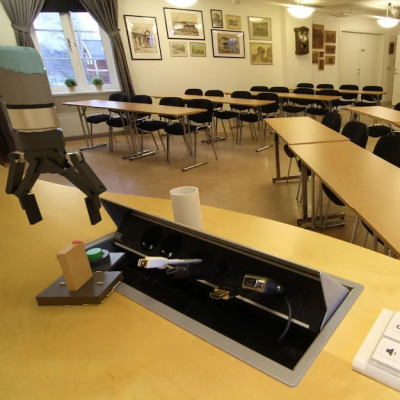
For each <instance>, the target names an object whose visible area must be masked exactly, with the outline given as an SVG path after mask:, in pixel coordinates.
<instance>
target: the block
mask: <svg viewBox="0 0 400 400" xmlns="http://www.w3.org/2000/svg"><path fill="white" fill-rule="evenodd" d="M101 250H102V253H103V256H101V257H99V258H97V259H93V260H88V261H89V264H90V268H91V271H92V272H96V271H102V272H110V271H111V270H112V269H113V270H114V269H115V268H116V267H117V266H118V265H119V264H120V263H121V262H122V261H123V260H124V259H125V258H126V256H127V255H126V252H110V251H109V250H107V249H101ZM113 270H112V271H113ZM112 271H111V272H112Z"/></svg>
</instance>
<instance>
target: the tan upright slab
mask: <svg viewBox="0 0 400 400" xmlns="http://www.w3.org/2000/svg"><path fill="white" fill-rule="evenodd" d="M86 252H87V251H86V247H85V244H84V241H83V240H81V239H75V240H73V241H72V242H71V243H69V244H68V245H66V246H65V247H64V248H62V249H61V250H59V251H58V252H57V253H56V256H57V257H56V258H57V260H58V263H59V265H60V268H61V273H62V275H64V278H65V281H66V284H67V287H68V290H69V291H77V290H78V289H79V288H80V287H81V286H82V285H83V284H85V283H86V282H87V281H88V280H89V279H90V278H91V277H92V276H93V275H92V271H91V268H90V264H89V261H88V258H87V254H86Z"/></svg>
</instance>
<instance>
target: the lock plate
mask: <svg viewBox="0 0 400 400" xmlns="http://www.w3.org/2000/svg"><path fill="white" fill-rule="evenodd" d="M92 275H93V276H92V277H91V278H90V279H89V280H88V281H87V282H86V283H85V284H83V285H82V286H81V287H80V288H79V289H78V290H77V291H69V290H68V287H67V284H66V281H65V278H64V275H63V274H62V275H61V276H59V277H58V278H57V279H55V280H54V281H53V282H52V283H51V284H49V285H48V286H47V287H46V288H44V289H43V290H42V291H41V292H40V293H38V294H37V295H36V296H34V298H35V300H36V304H37V306H39V307H51V306H52V307H54V306H55V307H56V306H57V307H58V306H61V307H62V306H64V307H65V305H70V306H84V305H83V304H101V302H102V301H103V300H104V299H105V298H106V297H107V295H108V294H109V293H110V292H111V291H112V289H113V287H114V286H115V285H116V284H117V283H118V282H119V281H121V280H123V279H124V280H125V278H124V274H123V271H111V272H92ZM124 280H123V281H124ZM101 305H102V304H101Z"/></svg>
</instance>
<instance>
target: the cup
mask: <svg viewBox="0 0 400 400" xmlns="http://www.w3.org/2000/svg"><path fill="white" fill-rule="evenodd" d="M169 196H170V202H171V208H172V214H173V220H174V223H175V222H178V223H181V224H184V225H187V226H190V227H193V228H197V229H200V230H203V231H204V232H205V229H204V222H203V216H202V208H201V200H200V193H199V188H198V187H196V186H190V185H188V186H180V187H179V186H178V187H175V188H172V189H171V190H169Z"/></svg>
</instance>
